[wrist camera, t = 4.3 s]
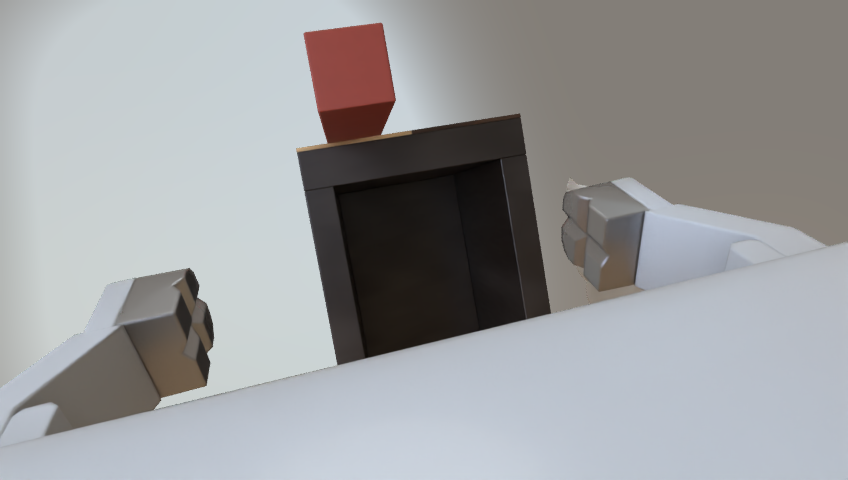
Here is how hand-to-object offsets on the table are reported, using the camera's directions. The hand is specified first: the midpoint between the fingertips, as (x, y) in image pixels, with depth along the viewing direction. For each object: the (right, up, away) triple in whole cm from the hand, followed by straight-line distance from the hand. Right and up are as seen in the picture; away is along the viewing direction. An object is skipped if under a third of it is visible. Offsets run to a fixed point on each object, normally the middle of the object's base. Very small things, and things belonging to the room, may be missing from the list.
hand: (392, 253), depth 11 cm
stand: (+4, -19, +25) cm, 32 cm away
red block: (-3, +6, +18) cm, 19 cm away
